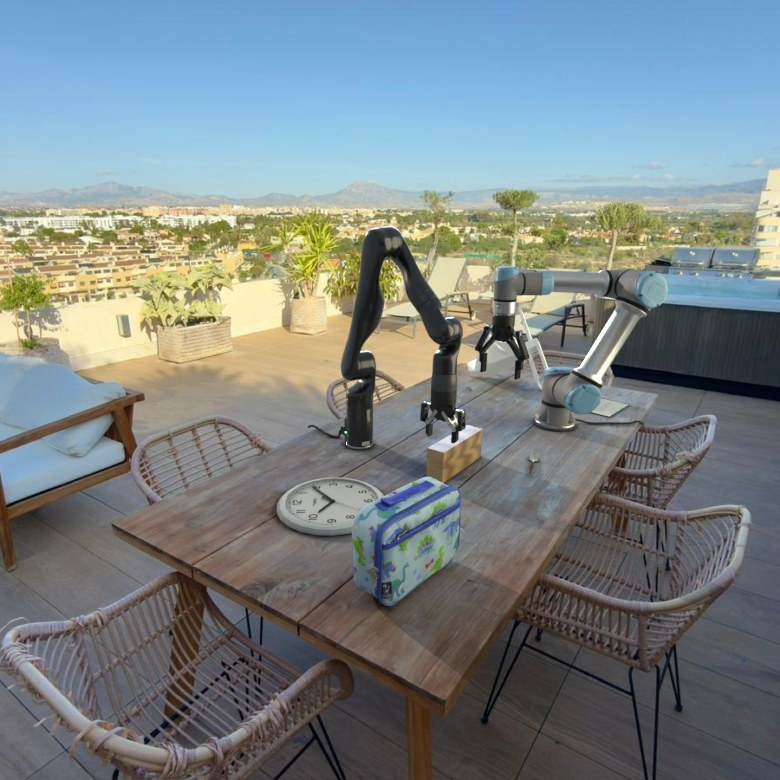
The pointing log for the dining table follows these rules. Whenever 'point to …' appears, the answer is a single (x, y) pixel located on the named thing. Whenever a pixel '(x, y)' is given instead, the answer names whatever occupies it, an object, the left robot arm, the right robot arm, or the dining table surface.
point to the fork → (533, 461)
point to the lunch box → (405, 538)
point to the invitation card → (608, 407)
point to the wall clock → (325, 505)
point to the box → (453, 454)
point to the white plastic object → (507, 356)
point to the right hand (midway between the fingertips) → (499, 375)
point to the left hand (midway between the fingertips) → (441, 439)
